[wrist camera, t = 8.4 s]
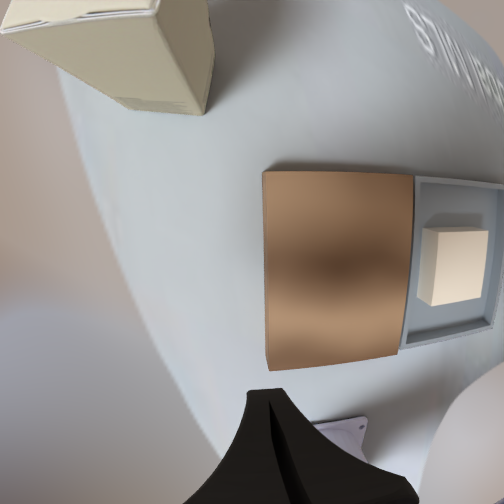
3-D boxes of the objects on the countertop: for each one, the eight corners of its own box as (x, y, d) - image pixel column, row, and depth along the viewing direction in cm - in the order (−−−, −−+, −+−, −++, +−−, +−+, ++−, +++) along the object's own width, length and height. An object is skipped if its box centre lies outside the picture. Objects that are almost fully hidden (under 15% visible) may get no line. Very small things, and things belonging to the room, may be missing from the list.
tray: (482, 322, 23) (492, 328, 21) (391, 340, 22) (400, 350, 21) (498, 184, 20) (510, 185, 19) (403, 175, 19) (415, 175, 18)
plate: (385, 341, 22) (397, 354, 20) (265, 355, 21) (269, 371, 19) (397, 175, 19) (413, 175, 17) (262, 172, 19) (266, 171, 17)
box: (217, 54, 17) (209, -95, 4) (204, 119, 18) (166, 15, 5) (136, 48, 16) (47, -73, 4) (120, 112, 17) (-10, 36, 5)
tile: (465, 289, 21) (480, 297, 19) (416, 296, 21) (431, 306, 19) (471, 226, 20) (488, 230, 18) (422, 227, 20) (438, 232, 18)
